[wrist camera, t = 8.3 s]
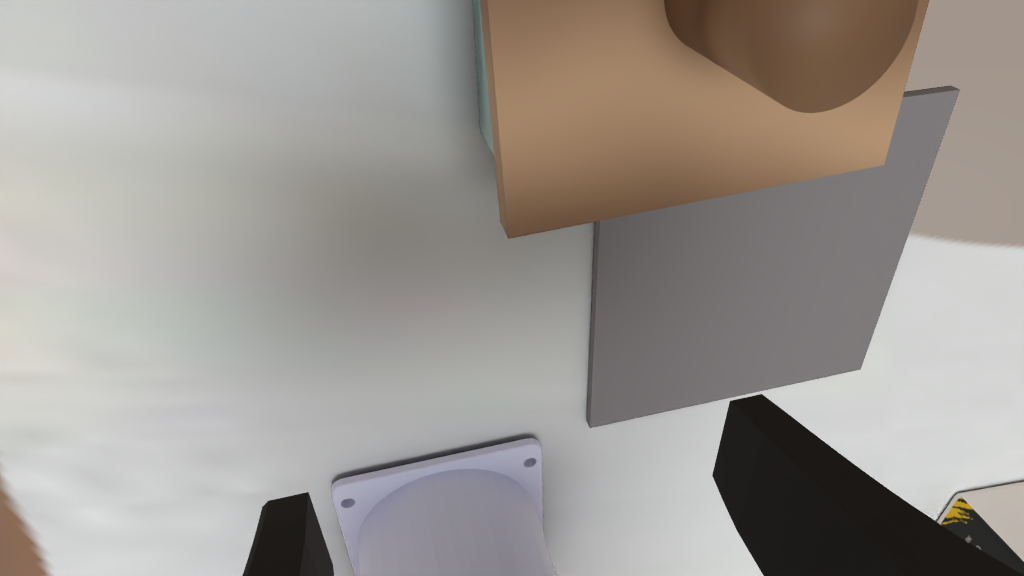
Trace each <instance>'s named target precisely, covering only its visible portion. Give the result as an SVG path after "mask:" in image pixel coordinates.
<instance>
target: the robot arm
mask: <svg viewBox="0 0 1024 576" xmlns="http://www.w3.org/2000/svg"><path fill="white" fill-rule="evenodd" d="M529 458H530V459H529ZM526 459H528V460H526ZM712 476H713V478H714V480H715V483H716V485H717V487H718V490H719V492H720V494H721V497H722V499H723V501H724V503H725V506H726V508H727V510H728V512H729V514H730V516H731V519H732V521H733V523H734V525H735V527H736V529H737V531H738V533H739V535H740V536H741V538H742V540H743V541H744V543H745V545H746V547H747V548H748V550H749V552H750V553H751V555H752V557H753V558H754V560H755V562H756V563H757V565H758V567H759V568H760V570H761V572H762V573H763V575H764V576H1024V575H1022V574H1021V573H1019V572H1017V571H1016V570H1014V569H1012V568H1011V567H1009V566H1007V565H1005V564H1004V563H1002V562H1000V561H999V560H997V559H995V558H994V557H992V556H990V555H988V554H987V553H985V552H983V551H982V550H980V549H978V548H977V547H975V546H973V545H972V544H970V543H968V542H967V541H965V540H964V539H962V538H960V537H959V536H957V535H956V534H954V533H952V532H951V531H949V530H948V529H946V528H945V527H943V526H942V525H940V524H939V523H937V522H936V521H934V520H933V519H931V518H930V517H928V516H927V515H925V514H924V513H922V512H921V511H919V510H918V509H916V508H915V507H913V506H912V505H910V504H909V503H907V502H906V501H904V500H903V499H901V498H900V497H899V496H897V495H896V494H894V493H893V492H891V491H890V490H889V489H887V488H886V487H884V486H883V485H882V484H880V483H879V482H877V481H876V480H875V479H873V478H872V477H870V476H869V475H868V474H866V473H865V472H864V471H862V470H861V469H859V468H858V467H857V466H855V465H854V464H853V463H851V462H850V461H849V460H847V459H846V458H845V457H843V456H842V455H841V454H839V453H838V452H837V451H835V450H834V449H833V448H831V447H830V446H829V445H827V444H826V443H825V442H824V441H822V440H821V439H820V438H818V437H817V436H816V435H814V434H813V433H812V432H810V431H809V430H808V429H807V428H805V427H804V426H803V425H801V424H800V423H799V422H797V421H796V420H795V419H794V418H792V417H791V416H790V415H788V414H787V413H786V412H785V411H783V410H782V409H781V408H779V407H778V406H777V405H775V404H774V403H773V402H771V401H770V400H769V399H767V398H766V397H765V396H763V395H762V394H761V395H756V396H751V397H747V398H742V399H737V400H733V401H730V404H729V408H728V412H727V416H726V420H725V425H724V429H723V433H722V437H721V441H720V446H719V450H718V454H717V458H716V463H715V467H714V471H713V475H712ZM331 494H332V500H333V503H334V506H335V510H336V513H337V517H338V520H339V523H340V527H341V530H342V533H343V537H344V540H345V544H346V547H347V550H348V554H349V557H350V560H351V564H352V567H353V571H354V574H355V576H557V575H556V572H555V569H554V566H553V562H552V559H551V556H550V553H549V550H548V547H547V544H546V541H545V538H544V535H543V502H542V449H541V446H540V443H539V441H538V440H536V439H533V438H527V439H522V440H518V441H513V442H508V443H504V444H499V445H494V446H490V447H485V448H480V449H476V450H471V451H467V452H462V453H457V454H453V455H448V456H443V457H439V458H434V459H430V460H425V461H420V462H416V463H411V464H406V465H402V466H397V467H392V468H388V469H383V470H379V471H374V472H369V473H365V474H360V475H355V476H351V477H346V478H342V479H339V480H337V481H336V482H334V483H333V485H332V486H331ZM243 576H334V572H333V564H332V561H331V558H330V555H329V552H328V549H327V546H326V543H325V540H324V537H323V534H322V531H321V528H320V525H319V522H318V519H317V516H316V513H315V510H314V507H313V504H312V501H311V499H310V496H309V493H308V492H307V493H303V494H298V495H294V496H289V497H284V498H280V499H275V500H270V501H268V502H267V503H266V504H265V505H264V506H263V507H262V511H261V515H260V519H259V523H258V527H257V531H256V534H255V538H254V541H253V545H252V548H251V551H250V554H249V558H248V561H247V564H246V567H245V570H244V573H243Z"/></svg>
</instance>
